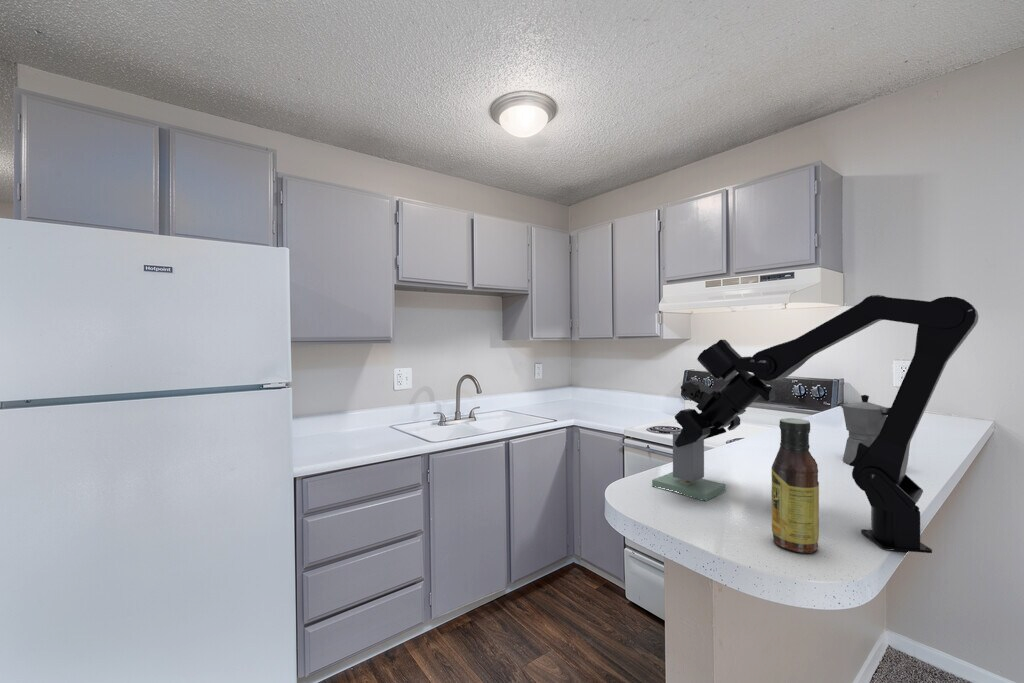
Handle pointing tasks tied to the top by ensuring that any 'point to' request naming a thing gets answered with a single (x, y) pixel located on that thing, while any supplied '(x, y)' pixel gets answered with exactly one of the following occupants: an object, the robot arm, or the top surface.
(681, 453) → the plug block
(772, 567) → the top surface
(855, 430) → the coffeepot
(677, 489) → the header board
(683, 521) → the top surface
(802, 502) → the sauce bottle
